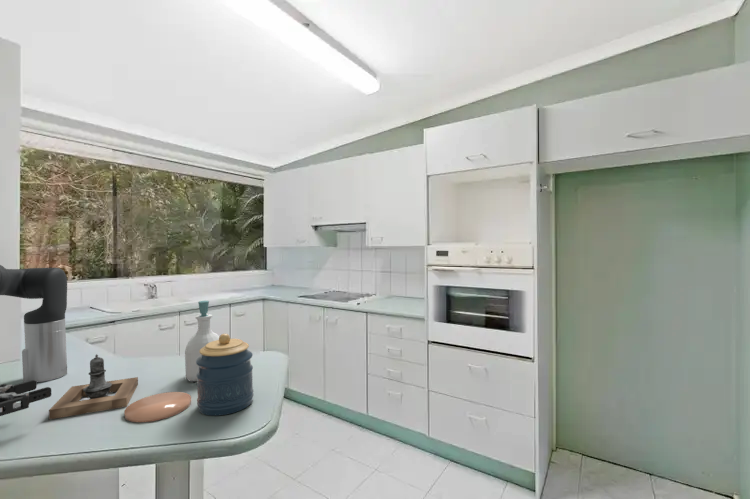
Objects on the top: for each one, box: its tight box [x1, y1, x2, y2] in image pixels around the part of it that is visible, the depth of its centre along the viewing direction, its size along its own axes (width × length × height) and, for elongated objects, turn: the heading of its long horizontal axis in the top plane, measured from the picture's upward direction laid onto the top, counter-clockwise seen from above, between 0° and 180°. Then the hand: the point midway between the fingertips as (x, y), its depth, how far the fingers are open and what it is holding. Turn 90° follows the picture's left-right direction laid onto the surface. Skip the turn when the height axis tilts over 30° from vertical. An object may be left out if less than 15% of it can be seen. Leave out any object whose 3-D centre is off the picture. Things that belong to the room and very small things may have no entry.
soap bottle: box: [184, 300, 220, 382], centre depth 109 cm, size 10×10×23 cm
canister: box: [196, 333, 254, 417], centre depth 90 cm, size 13×13×18 cm
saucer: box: [124, 391, 192, 423], centre depth 89 cm, size 14×14×1 cm
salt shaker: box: [83, 353, 112, 399], centre depth 94 cm, size 6×6×12 cm
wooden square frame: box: [48, 376, 139, 420], centre depth 94 cm, size 15×15×2 cm
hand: (43, 387), depth 84 cm, fingers open, 8 cm apart
